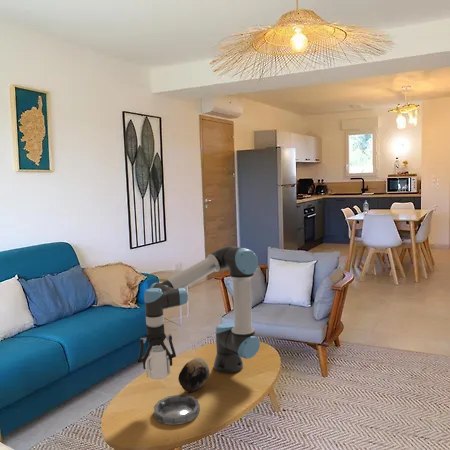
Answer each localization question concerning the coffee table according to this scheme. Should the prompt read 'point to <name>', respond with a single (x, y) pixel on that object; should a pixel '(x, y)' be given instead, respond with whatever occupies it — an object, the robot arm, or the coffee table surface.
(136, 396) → the coffee table surface
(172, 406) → the gray metal bowl
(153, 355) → the mug
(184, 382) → the decorative stone
